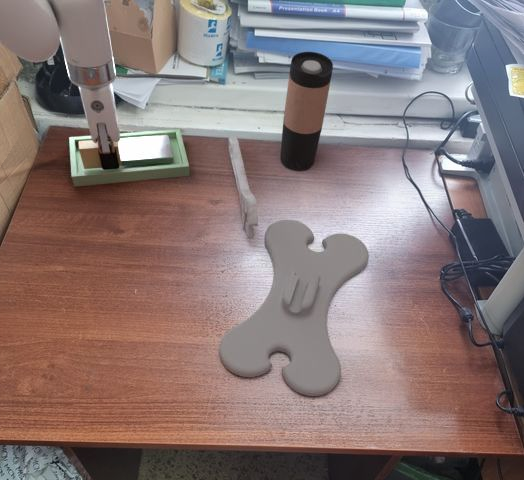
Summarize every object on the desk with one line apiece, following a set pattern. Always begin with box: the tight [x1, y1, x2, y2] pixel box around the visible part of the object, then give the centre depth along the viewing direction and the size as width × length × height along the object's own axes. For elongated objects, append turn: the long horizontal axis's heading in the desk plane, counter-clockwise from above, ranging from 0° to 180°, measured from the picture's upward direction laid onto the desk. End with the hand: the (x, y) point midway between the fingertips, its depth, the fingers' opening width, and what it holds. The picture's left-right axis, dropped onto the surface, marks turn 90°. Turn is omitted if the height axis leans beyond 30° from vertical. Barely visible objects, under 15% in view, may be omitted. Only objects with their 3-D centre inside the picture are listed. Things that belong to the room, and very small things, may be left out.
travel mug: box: [279, 51, 334, 172], centre depth 97 cm, size 8×8×20 cm
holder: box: [218, 219, 370, 397], centre depth 83 cm, size 19×34×5 cm, turn 164°
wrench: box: [228, 136, 259, 239], centre depth 96 cm, size 8×2×30 cm
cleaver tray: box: [68, 128, 191, 187], centre depth 100 cm, size 22×12×2 cm, turn 103°
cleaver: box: [78, 135, 174, 169], centre depth 98 cm, size 17×7×4 cm, turn 103°
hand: (110, 162), depth 98 cm, fingers closed on cleaver, 2 cm apart
